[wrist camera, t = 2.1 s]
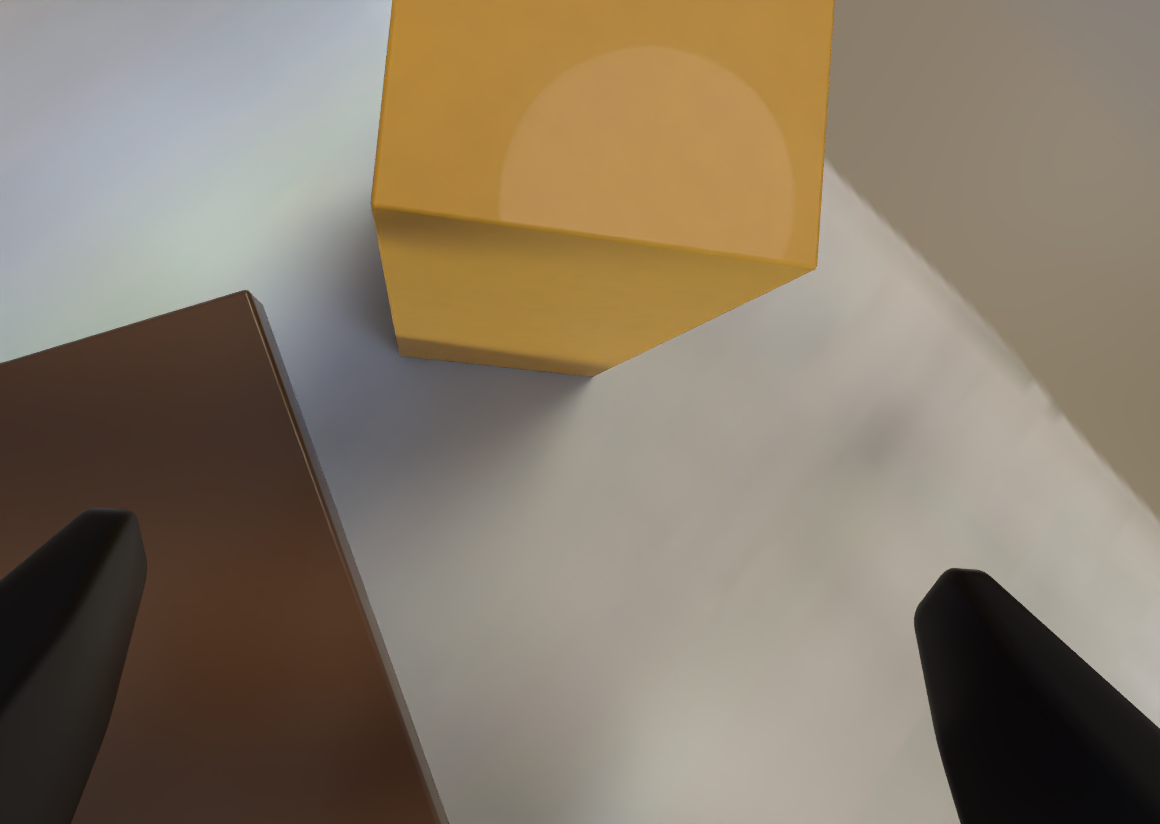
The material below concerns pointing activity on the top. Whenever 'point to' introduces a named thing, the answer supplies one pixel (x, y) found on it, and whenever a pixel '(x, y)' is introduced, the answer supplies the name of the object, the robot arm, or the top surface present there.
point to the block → (594, 171)
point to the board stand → (214, 579)
